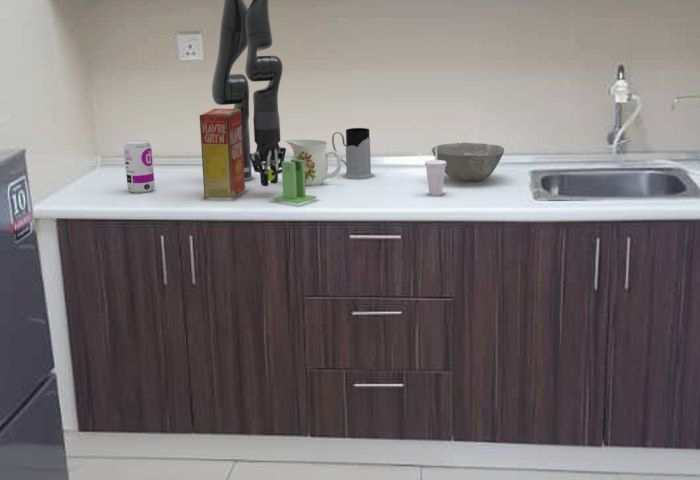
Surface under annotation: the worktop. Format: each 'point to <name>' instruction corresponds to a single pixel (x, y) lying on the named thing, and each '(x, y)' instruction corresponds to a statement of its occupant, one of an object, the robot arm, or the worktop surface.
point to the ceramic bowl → (469, 160)
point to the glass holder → (356, 153)
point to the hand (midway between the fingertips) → (269, 184)
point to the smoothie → (435, 175)
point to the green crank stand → (293, 183)
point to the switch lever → (272, 173)
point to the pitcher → (314, 159)
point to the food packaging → (222, 153)
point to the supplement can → (139, 166)
